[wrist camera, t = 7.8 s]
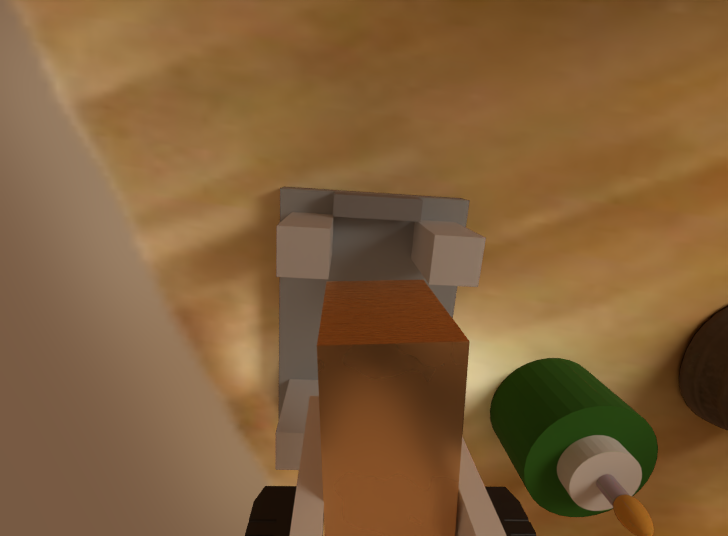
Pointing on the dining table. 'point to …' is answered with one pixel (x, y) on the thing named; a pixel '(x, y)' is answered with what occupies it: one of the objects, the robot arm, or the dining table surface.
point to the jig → (356, 273)
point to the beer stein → (708, 371)
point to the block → (390, 409)
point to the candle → (575, 442)
